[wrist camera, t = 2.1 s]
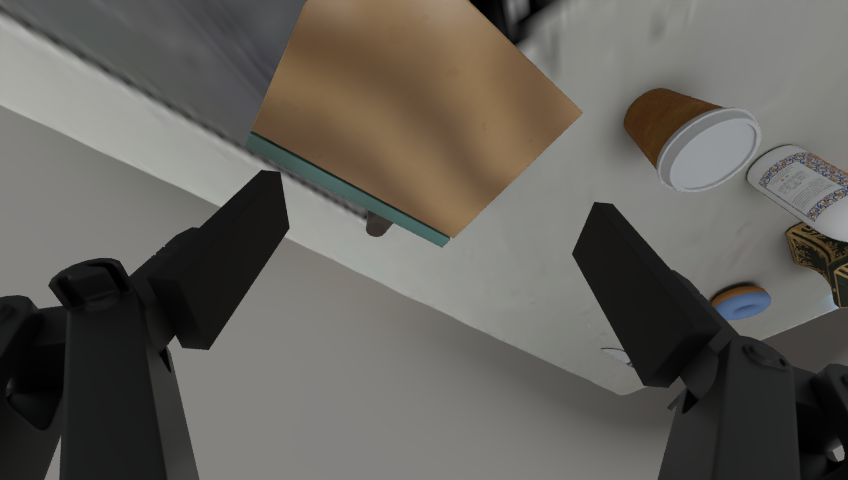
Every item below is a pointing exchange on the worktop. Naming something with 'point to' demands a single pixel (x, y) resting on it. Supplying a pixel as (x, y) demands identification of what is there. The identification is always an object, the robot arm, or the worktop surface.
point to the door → (346, 192)
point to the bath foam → (805, 188)
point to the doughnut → (741, 302)
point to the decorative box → (822, 258)
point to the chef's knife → (619, 355)
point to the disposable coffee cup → (692, 139)
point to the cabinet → (412, 104)
